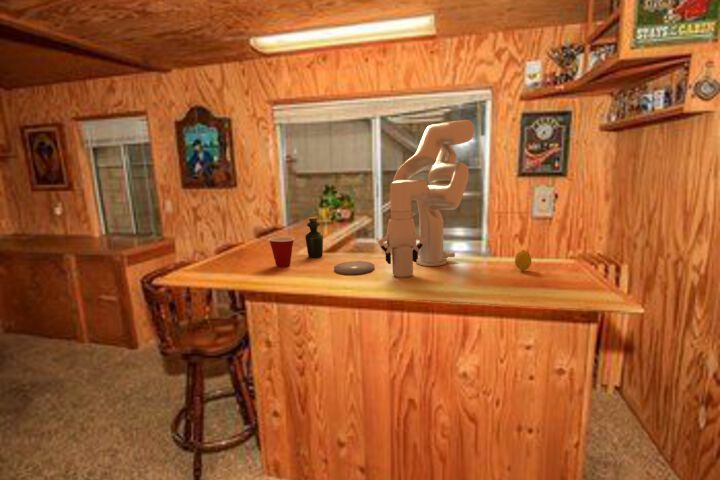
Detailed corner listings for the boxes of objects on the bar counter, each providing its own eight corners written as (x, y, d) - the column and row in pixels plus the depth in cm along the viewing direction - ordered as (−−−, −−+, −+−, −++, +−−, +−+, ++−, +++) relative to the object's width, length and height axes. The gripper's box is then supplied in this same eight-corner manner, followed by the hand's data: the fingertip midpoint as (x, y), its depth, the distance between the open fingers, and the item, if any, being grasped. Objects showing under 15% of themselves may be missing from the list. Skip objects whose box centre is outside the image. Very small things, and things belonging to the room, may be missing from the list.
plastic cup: (301, 264, 166) (299, 237, 164) (280, 270, 158) (278, 241, 156) (286, 261, 173) (284, 234, 171) (265, 266, 165) (263, 238, 163)
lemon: (530, 269, 145) (531, 248, 143) (531, 273, 140) (532, 251, 138) (514, 268, 146) (514, 248, 145) (514, 272, 141) (515, 251, 140)
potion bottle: (303, 257, 179) (300, 218, 176) (317, 253, 185) (314, 216, 181) (313, 259, 174) (310, 219, 170) (327, 256, 179) (325, 217, 175)
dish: (370, 262, 164) (370, 259, 164) (378, 272, 149) (378, 269, 149) (332, 265, 162) (332, 262, 162) (336, 276, 146) (336, 273, 146)
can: (412, 278, 140) (411, 245, 138) (391, 278, 141) (390, 245, 139) (413, 272, 147) (413, 241, 145) (393, 272, 149) (393, 241, 146)
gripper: (421, 213, 145) (421, 258, 148) (375, 215, 142) (376, 261, 145) (428, 215, 137) (427, 263, 141) (379, 218, 135) (380, 266, 138)
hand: (401, 262), depth 143 cm, fingers open, 9 cm apart
